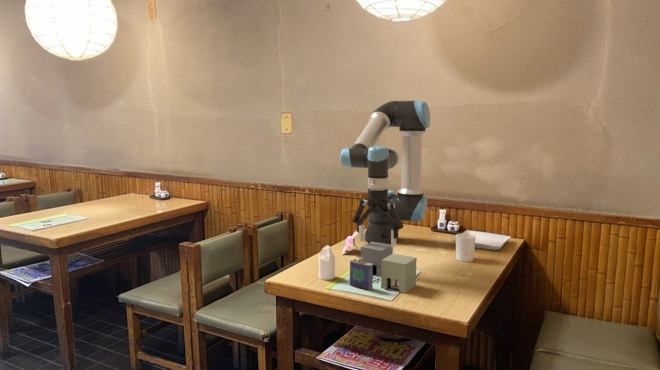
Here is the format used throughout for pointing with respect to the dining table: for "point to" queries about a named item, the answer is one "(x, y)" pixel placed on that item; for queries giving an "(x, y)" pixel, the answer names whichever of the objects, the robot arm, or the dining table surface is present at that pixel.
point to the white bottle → (326, 264)
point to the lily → (350, 242)
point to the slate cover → (375, 254)
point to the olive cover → (399, 271)
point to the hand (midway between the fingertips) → (377, 243)
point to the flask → (361, 274)
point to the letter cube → (395, 283)
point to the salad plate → (487, 240)
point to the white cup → (465, 247)
